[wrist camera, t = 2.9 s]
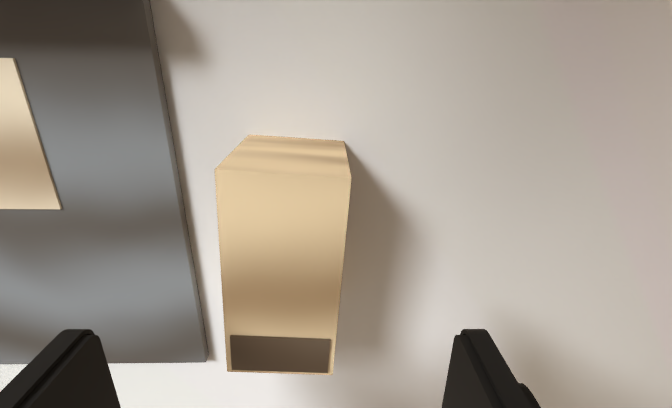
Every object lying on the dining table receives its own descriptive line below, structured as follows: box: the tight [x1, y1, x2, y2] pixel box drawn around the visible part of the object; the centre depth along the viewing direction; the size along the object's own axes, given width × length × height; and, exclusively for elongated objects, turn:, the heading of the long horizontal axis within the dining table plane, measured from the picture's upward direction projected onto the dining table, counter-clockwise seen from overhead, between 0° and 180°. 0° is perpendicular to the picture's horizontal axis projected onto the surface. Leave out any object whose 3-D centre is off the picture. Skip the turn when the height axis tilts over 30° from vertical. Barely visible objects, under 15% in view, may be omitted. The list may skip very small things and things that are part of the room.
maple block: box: [215, 135, 352, 375], centre depth 14 cm, size 8×4×5 cm, turn 176°
